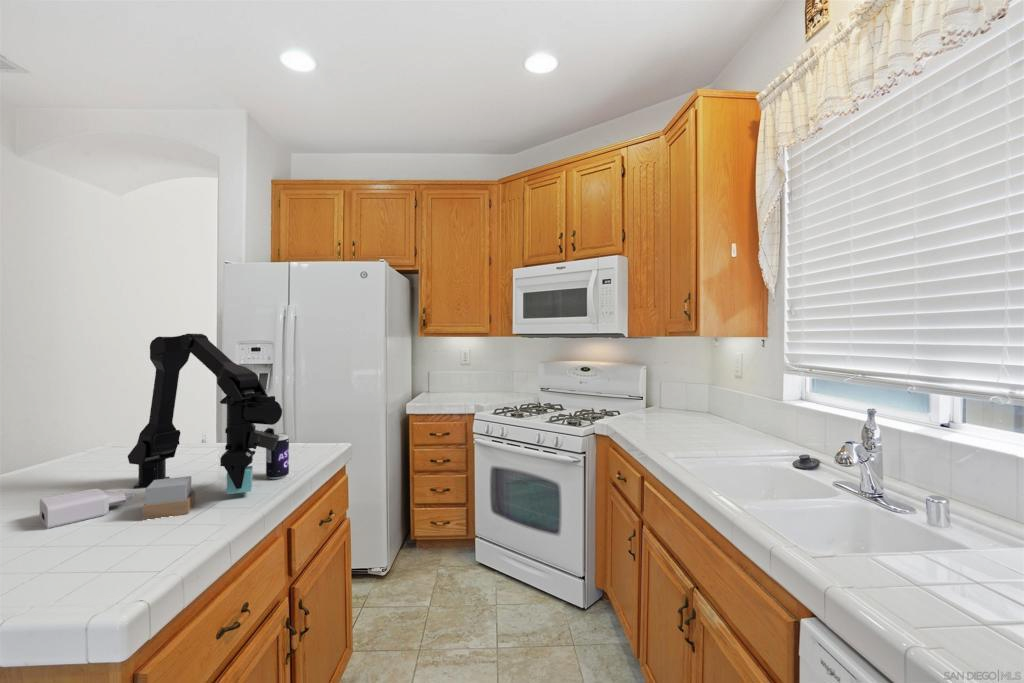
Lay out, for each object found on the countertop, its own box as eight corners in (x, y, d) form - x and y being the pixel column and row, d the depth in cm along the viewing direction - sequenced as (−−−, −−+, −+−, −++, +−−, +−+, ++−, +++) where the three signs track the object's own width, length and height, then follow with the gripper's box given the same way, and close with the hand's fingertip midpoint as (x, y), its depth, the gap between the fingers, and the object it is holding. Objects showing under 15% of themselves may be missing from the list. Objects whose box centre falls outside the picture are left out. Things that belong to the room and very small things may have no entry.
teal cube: (229, 488, 113) (229, 468, 113) (252, 485, 116) (252, 465, 116) (226, 494, 109) (226, 473, 109) (250, 491, 111) (250, 470, 111)
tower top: (153, 495, 103) (154, 479, 103) (191, 490, 107) (191, 476, 107) (145, 505, 97) (145, 488, 97) (185, 500, 100) (185, 484, 100)
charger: (140, 508, 104) (47, 530, 92) (128, 500, 109) (39, 519, 97) (140, 488, 104) (47, 507, 92) (128, 480, 109) (39, 497, 97)
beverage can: (279, 481, 124) (279, 437, 124) (261, 479, 125) (261, 436, 125) (293, 475, 130) (293, 433, 130) (275, 473, 131) (276, 432, 131)
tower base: (153, 509, 104) (153, 494, 104) (195, 504, 107) (195, 489, 107) (142, 522, 97) (142, 506, 97) (188, 516, 100) (188, 500, 100)
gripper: (275, 426, 107) (275, 492, 107) (277, 414, 124) (277, 471, 124) (220, 430, 102) (219, 499, 102) (230, 417, 119) (229, 476, 119)
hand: (239, 485), depth 112 cm, fingers closed on teal cube, 5 cm apart
